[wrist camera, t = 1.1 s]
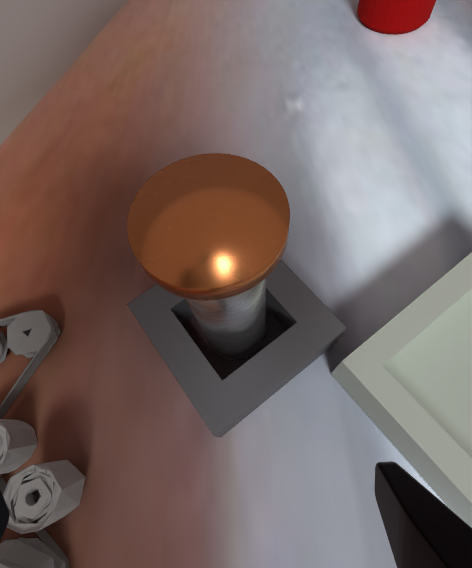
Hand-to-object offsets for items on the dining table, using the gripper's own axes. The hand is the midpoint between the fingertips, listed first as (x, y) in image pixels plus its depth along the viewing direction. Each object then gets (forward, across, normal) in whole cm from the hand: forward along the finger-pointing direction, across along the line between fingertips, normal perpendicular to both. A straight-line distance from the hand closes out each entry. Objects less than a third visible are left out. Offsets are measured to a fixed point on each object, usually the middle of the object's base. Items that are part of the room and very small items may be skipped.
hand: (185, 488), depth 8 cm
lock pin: (+15, -1, +3) cm, 15 cm away
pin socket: (+15, -1, +3) cm, 15 cm away
